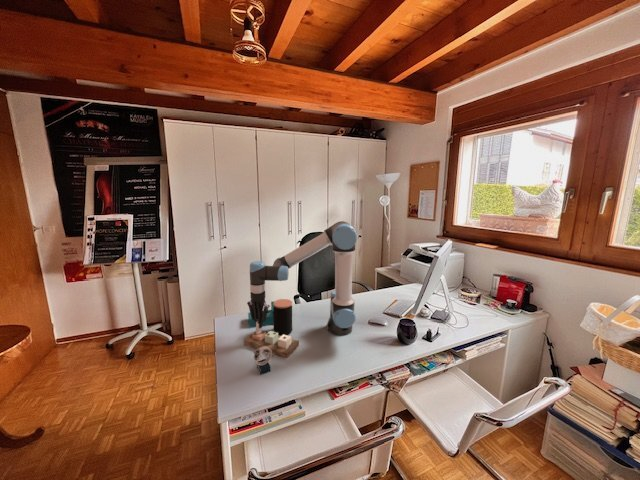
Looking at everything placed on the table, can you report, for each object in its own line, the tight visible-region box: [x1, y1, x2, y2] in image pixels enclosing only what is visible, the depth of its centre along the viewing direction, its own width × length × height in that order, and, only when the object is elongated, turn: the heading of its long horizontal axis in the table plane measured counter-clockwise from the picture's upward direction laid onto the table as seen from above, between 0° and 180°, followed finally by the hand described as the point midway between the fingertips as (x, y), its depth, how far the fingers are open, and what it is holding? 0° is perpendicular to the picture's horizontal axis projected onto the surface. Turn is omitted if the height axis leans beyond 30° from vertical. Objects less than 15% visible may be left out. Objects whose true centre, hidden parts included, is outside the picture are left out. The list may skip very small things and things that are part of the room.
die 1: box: [251, 330, 266, 341], centre depth 140 cm, size 5×5×4 cm
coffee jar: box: [272, 298, 293, 336], centre depth 149 cm, size 11×11×18 cm
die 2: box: [265, 330, 278, 345], centre depth 137 cm, size 5×5×4 cm
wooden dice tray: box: [243, 329, 300, 360], centre depth 137 cm, size 26×12×3 cm, turn 65°
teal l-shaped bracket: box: [247, 300, 275, 328], centre depth 162 cm, size 18×11×10 cm, turn 108°
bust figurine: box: [253, 346, 273, 375], centre depth 118 cm, size 6×8×11 cm
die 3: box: [278, 334, 292, 349], centre depth 133 cm, size 5×5×4 cm
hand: (259, 332), depth 140 cm, fingers closed
